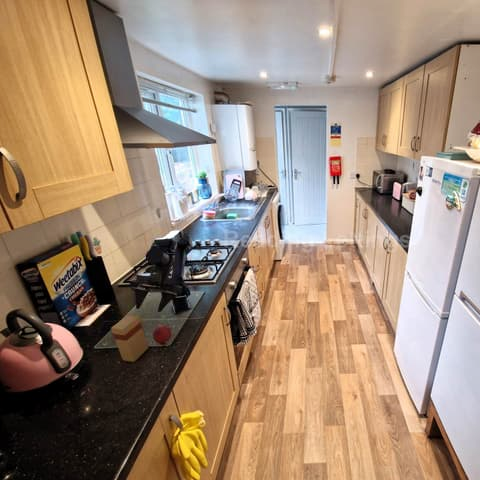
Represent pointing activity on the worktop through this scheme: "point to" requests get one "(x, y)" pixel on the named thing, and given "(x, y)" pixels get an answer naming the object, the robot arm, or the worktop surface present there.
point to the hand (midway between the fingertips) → (148, 310)
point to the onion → (161, 334)
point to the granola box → (130, 338)
